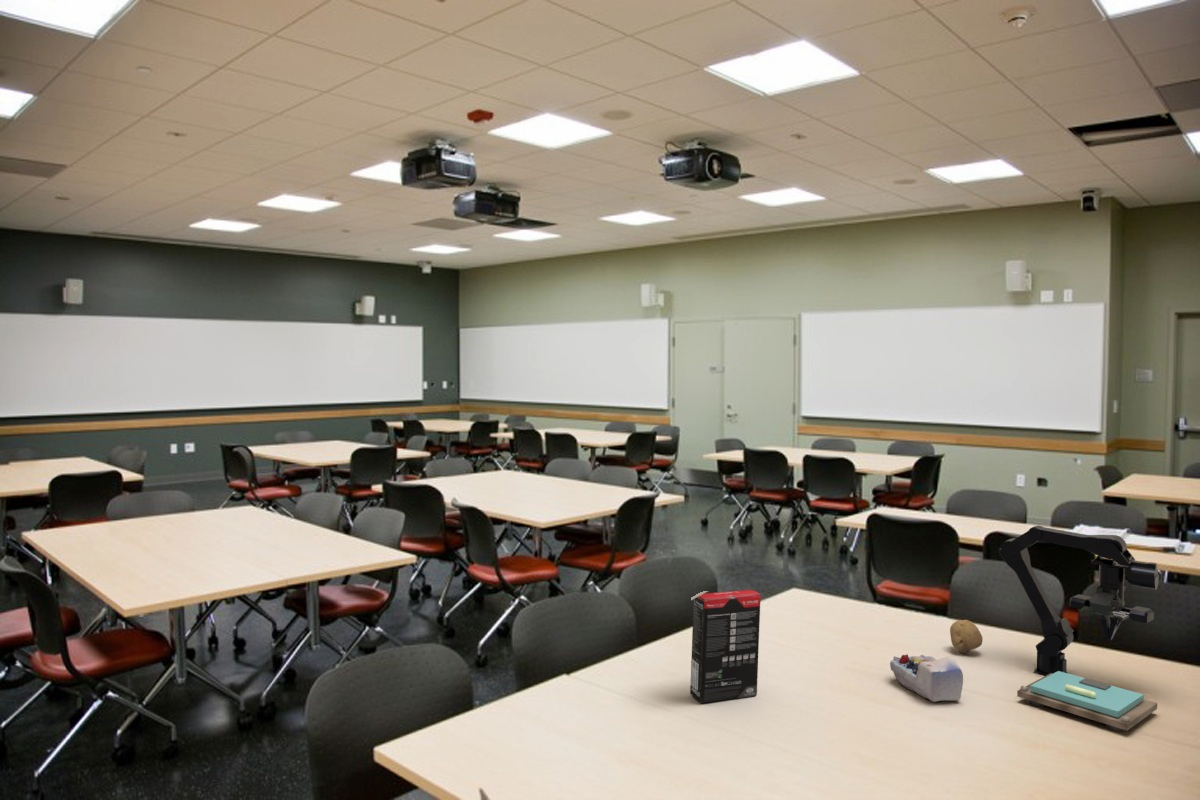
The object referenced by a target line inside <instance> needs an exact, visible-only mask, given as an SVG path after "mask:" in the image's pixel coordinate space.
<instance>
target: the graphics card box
mask: <svg viewBox="0 0 1200 800" xmlns="http://www.w3.org/2000/svg"><path fill="white" fill-rule="evenodd" d="M761 599H762V598H761V593H759V592H758V591H756V590H753V589H744V590H742V589H741V590H729V591H719V592H717V591H716V592H709V593H708V592H704V593H701V594H699V595H697V596H696V597H694V598H692V600H693V601H692V602H693V604H692V605H693V606H692V631H691V632H692V633H691V634H692V635H691V637H692V638H691V641H692V642H691V645H692V646H691V662H690V663H691V664H690V665H691V666H690V692H689V693H690V695H691V696H692V697H693V698H694V699H696V701H698V702H699V703H700V704H705V703H711V702H721V701H729V700H736V699H742V698H750V697H751V698H752V697H756V696H757V695H758V678H759V677H758V676H759V675H758V672H759V647H760V646H759V644H760V643H759V642H760V622H761V621H760V620H761V619H760V617H761Z"/></svg>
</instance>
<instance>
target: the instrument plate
mask: <svg viewBox="0 0 1200 800" xmlns="http://www.w3.org/2000/svg"><path fill="white" fill-rule="evenodd" d="M1030 691H1031V692H1034V693H1038V694H1041V695H1044V696H1048V697H1051V698H1054V699H1058V700H1061V701H1064V702H1067V703H1071V704H1074V705H1077V706H1081V707H1084V708H1087V709H1091V710H1094V711H1097V712H1101V713H1104V714H1107V715H1111V716H1114V717H1117V718H1118V717H1120V716H1121V715H1123V714H1124V713H1126V712H1127V711H1129V710H1130V709H1132V708H1133V707H1135V706H1136V705H1138V704H1139V703H1141V702H1142V701H1144V699H1145V698H1144V697H1145V694H1143V693H1140V692H1135V691H1133V690H1128V689H1125V688H1121V687H1118V686H1114V685H1111V684H1109V683H1105V682H1104V683H1103V682H1101V681H1097V680H1093V679H1089V678H1086V677H1082V676H1079V675H1074V674H1070V673H1068V672H1067V673H1064V672H1060V671H1057V672H1055V673H1053V674H1052V675H1050V676H1048V677H1046V678H1044V679H1042V680H1040V681H1038V682H1036V683H1034V684H1032V685H1030Z"/></svg>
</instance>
